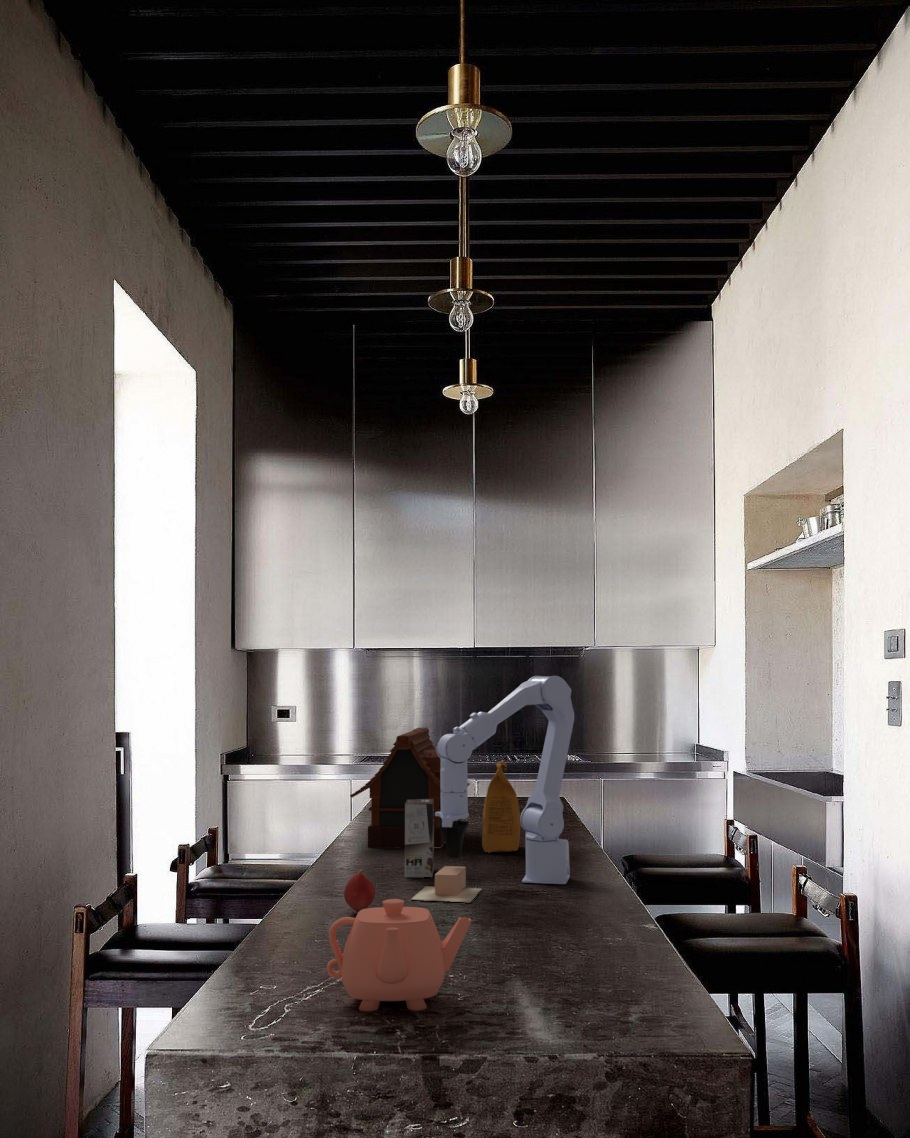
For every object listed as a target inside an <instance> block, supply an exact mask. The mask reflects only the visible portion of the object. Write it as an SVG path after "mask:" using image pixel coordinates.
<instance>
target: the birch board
mask: <svg viewBox="0 0 910 1138" xmlns="http://www.w3.org/2000/svg"><path fill="white" fill-rule="evenodd" d="M481 890H482V891H483V889H482V888H476V887H475V888H474V887H473V888H472V887H465V888H464V889H463V890H462V891H461V892H460V893H459V894H458V895H457V896H452V895H435V886H428V885H427V886H424V887H423V888H422V889H421V890H420V891H419V892H417V893H416V894H415V895H414V896H413V897H411V899H410V901H411V900H424V901H450V902H471V901H472V900H473V899H474V898H475V897H476V896H477V894H478V893H479V892H480V891H481ZM482 891H481V892H482ZM481 892H480V893H481ZM480 893H479V894H480ZM477 897H478V896H477ZM477 897H476V898H477ZM476 898H475V899H476ZM475 899H474V900H475ZM474 900H473V901H474ZM473 901H472V902H473Z"/></svg>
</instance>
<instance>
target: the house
mask: <svg viewBox="0 0 910 1138" xmlns="http://www.w3.org/2000/svg"><path fill="white" fill-rule="evenodd" d="M430 738H431V736H430V729H429V728H428V727H417V728H414V729H412V730H411V731H409V732H405V733H403V734H400V735H398V736H396V738H395V742H393V744H392V745H393V747H392V748H391V750H389V752H390V753H389V754H388V756H386V760H385V761H384V762H383V763H382V764H383V765H382V766H381V767H380V768H379V769H378V771H377V772H376V773H375V774H374V775H373V777H372V778H371V779H369V781H368V782H366V783H365V784H364V785H363V786H361V787H360V788H359V789H357V790H356V791H355V792H354V793H351V794H350V795H349V796H350V798H351V799H352V798H354V797H356V796H358V795H360V794H361V793H363V792H364V791H366V790H368V789H369V799H371V800H370V801H371V804H370V805H371V806H370V807H369V808H368V811H369V812H371V815H370V816H371V820H370V821H371V824H370V825H368V826H367V848H368V849H370V848H369V847H373V848H372V849H376V848H375V847H405V803H406V801H407V800H415V799H434V847H441V846H442V845H443V844H444V842H445V838H444V835H443V833H442V831H441V829H440V827H439V824H440V823H442V818H441V817H440V816H435V813H436V812H441V788H440V769H441V759H440V757H439V756H438V755H437V752H436V746H434V745H433V744H434V742H433V741H432V740H431V739H430ZM470 784H471V783H469V782H468V781H467V788H468V787H469V786H470ZM444 845H445V844H444ZM444 845H443V846H444ZM443 846H442V847H443Z"/></svg>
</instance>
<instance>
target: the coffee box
mask: <svg viewBox="0 0 910 1138" xmlns="http://www.w3.org/2000/svg"><path fill="white" fill-rule="evenodd" d="M434 868H435V849H434V799H415V800H407V801H406V803H405V848H404V878H424V877H431V878H433V876H434V875H433V874H434V870H435V869H434Z"/></svg>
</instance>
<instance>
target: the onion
mask: <svg viewBox="0 0 910 1138" xmlns="http://www.w3.org/2000/svg"><path fill="white" fill-rule="evenodd" d="M343 897H344V901H345V902H346V904H347V905H348V906H349V907H350V908H351V909H352V910H354V911H355V912H356V913H357V914H358V912H359V911H361V910H362V909H367V908H369V907H370V906H371V904H372V903H373V902H374V900H375V898H376V887H375V885H374V883H373V882H372V880H370V878H368V877H367V876H366V875H365V874H364V871H363V869H359V870H358V871H357V873H355V874H354V875H353V876H351V878H350V879H349V880H348V882H347V883H346V885H345V888H344V889H343Z"/></svg>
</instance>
